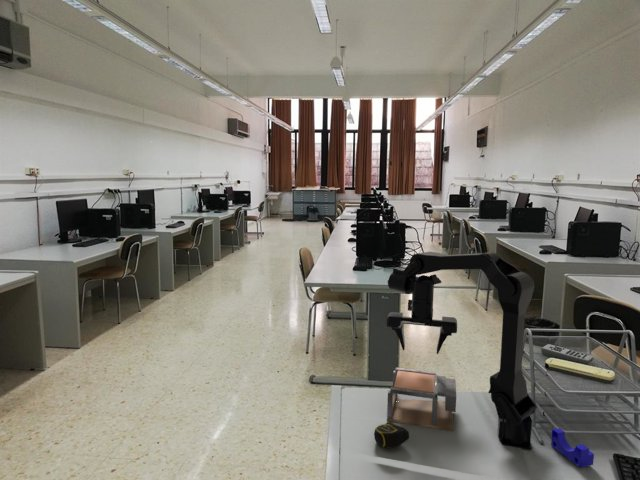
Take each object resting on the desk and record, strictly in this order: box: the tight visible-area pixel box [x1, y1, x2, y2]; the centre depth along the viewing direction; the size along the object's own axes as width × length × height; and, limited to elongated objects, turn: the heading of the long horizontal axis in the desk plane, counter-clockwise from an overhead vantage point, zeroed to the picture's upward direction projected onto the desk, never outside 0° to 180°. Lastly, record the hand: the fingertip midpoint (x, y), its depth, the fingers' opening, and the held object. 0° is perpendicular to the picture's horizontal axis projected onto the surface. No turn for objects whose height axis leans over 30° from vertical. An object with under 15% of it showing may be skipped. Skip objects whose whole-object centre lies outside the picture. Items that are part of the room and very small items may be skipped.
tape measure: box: [373, 421, 410, 449], centre depth 98 cm, size 7×7×4 cm
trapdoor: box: [394, 371, 457, 413], centre depth 112 cm, size 15×10×5 cm, turn 74°
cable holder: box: [550, 427, 595, 468], centre depth 96 cm, size 8×4×4 cm, turn 15°
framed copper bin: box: [386, 367, 454, 432], centre depth 113 cm, size 16×14×8 cm
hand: (420, 351), depth 120 cm, fingers open, 9 cm apart
